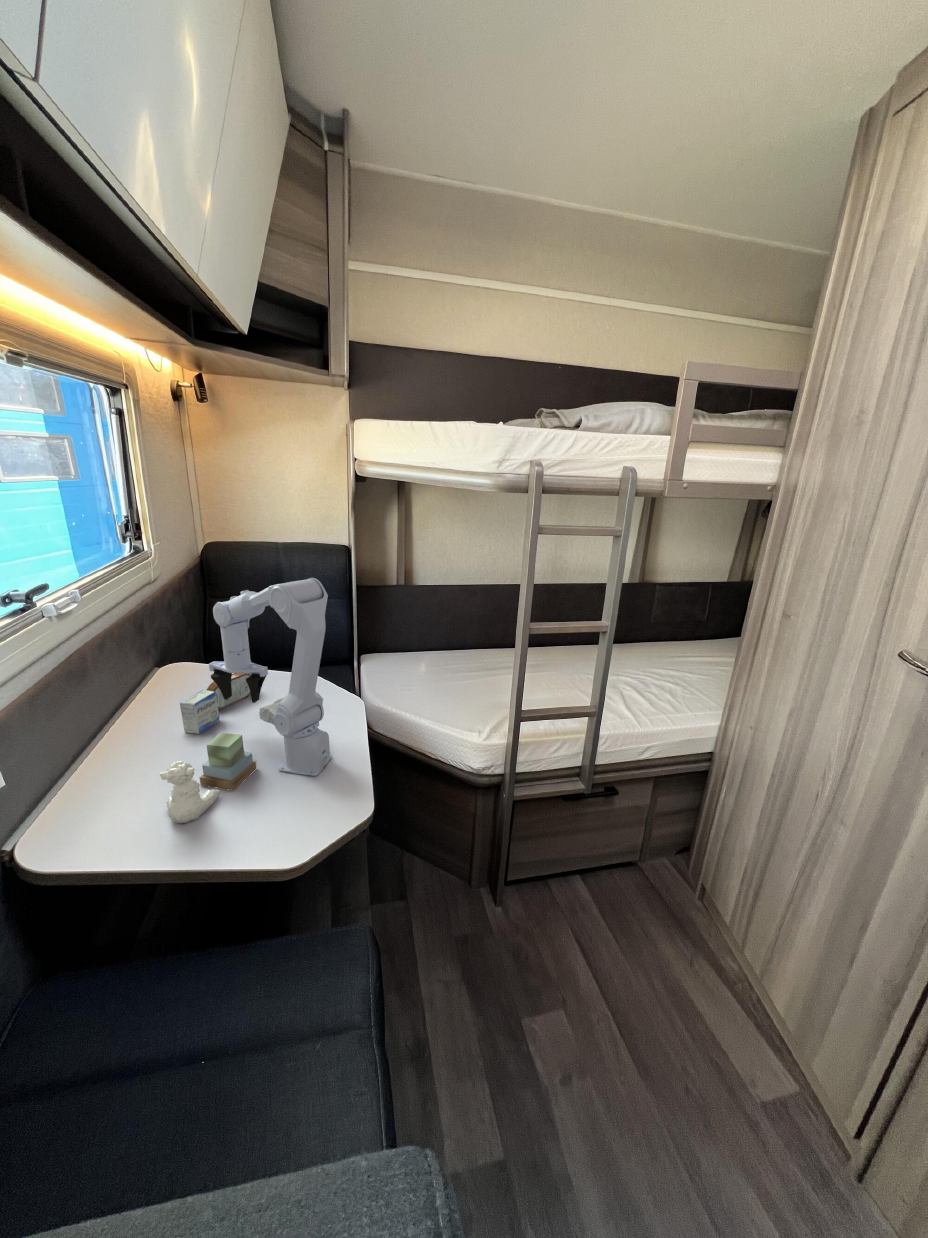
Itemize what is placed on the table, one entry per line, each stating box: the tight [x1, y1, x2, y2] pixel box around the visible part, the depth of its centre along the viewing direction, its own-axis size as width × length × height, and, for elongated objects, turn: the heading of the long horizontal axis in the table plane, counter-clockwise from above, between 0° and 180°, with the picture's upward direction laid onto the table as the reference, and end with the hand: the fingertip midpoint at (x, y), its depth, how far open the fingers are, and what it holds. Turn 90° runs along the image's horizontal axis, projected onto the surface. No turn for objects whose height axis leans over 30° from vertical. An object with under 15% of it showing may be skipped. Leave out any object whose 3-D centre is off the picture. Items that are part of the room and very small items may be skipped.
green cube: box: [206, 732, 245, 767], centre depth 101 cm, size 5×5×5 cm
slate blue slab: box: [201, 750, 254, 781], centre depth 102 cm, size 7×7×2 cm
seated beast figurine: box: [159, 760, 221, 824], centre depth 90 cm, size 10×9×12 cm
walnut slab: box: [199, 760, 257, 791], centre depth 103 cm, size 8×8×2 cm
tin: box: [206, 673, 251, 710], centre depth 136 cm, size 15×3×8 cm, turn 154°
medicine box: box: [179, 689, 220, 735], centre depth 122 cm, size 8×4×9 cm, turn 168°
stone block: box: [258, 697, 284, 725], centre depth 131 cm, size 12×5×10 cm
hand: (241, 699), depth 116 cm, fingers open, 7 cm apart
